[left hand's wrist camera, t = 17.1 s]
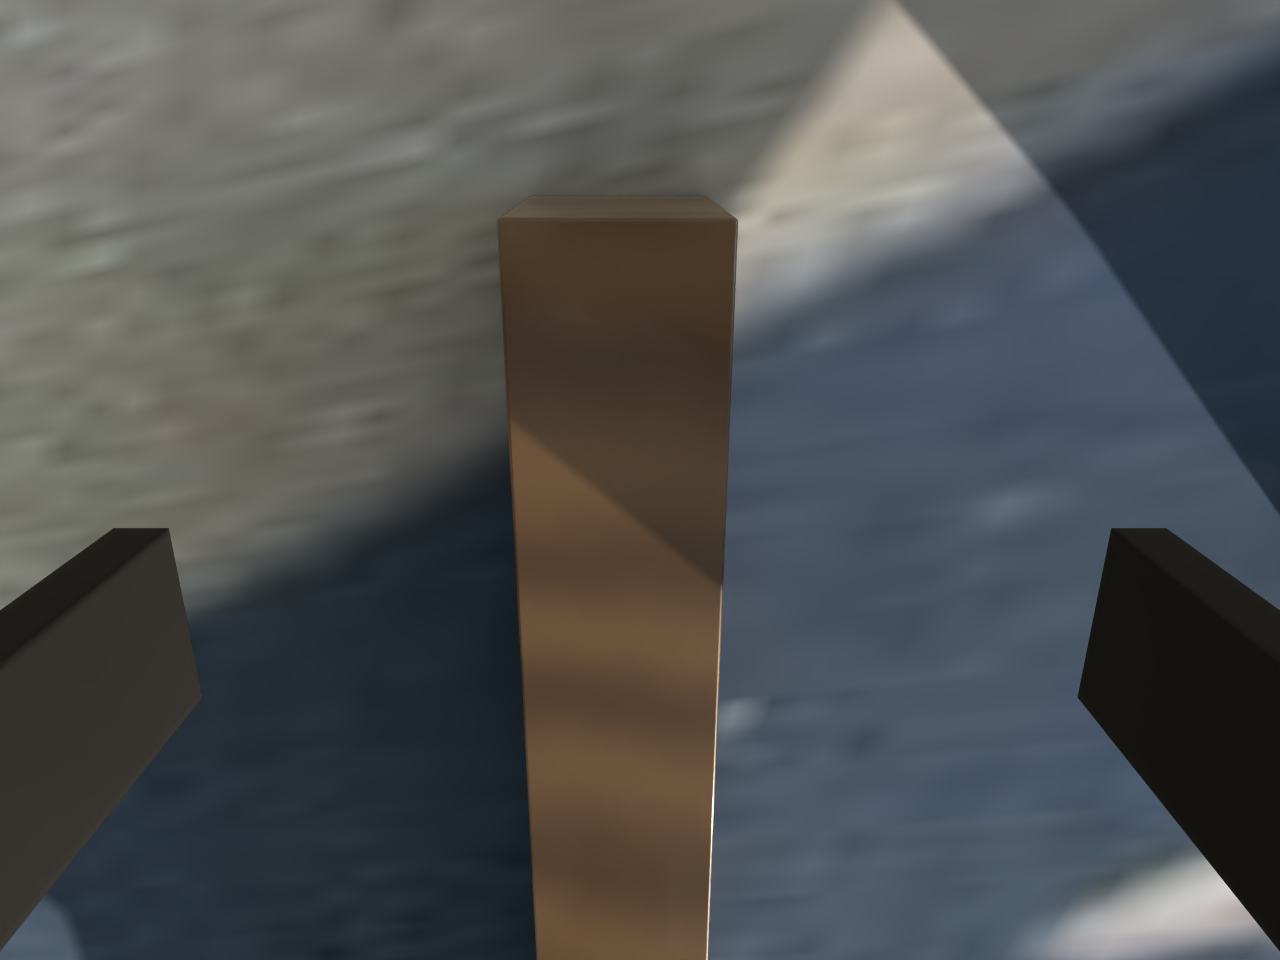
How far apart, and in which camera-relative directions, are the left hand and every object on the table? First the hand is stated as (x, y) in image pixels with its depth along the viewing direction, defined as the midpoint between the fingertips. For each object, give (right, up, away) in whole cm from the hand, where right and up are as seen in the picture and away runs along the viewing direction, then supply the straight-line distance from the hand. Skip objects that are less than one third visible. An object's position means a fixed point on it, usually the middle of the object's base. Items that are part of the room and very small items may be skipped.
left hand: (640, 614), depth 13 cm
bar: (-1, -17, +26) cm, 31 cm away
